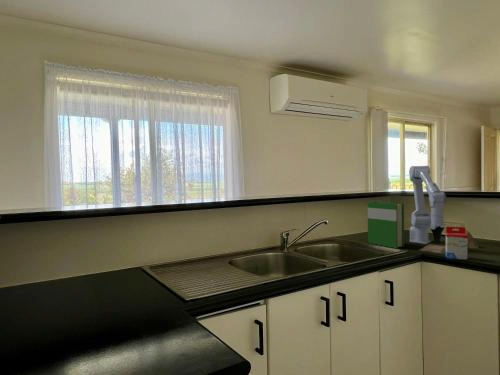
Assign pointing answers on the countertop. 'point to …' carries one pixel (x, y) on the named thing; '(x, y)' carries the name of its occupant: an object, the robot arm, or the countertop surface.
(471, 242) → the rock
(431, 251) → the mat
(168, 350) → the countertop surface
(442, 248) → the tile
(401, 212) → the hardback book
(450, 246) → the ink box
